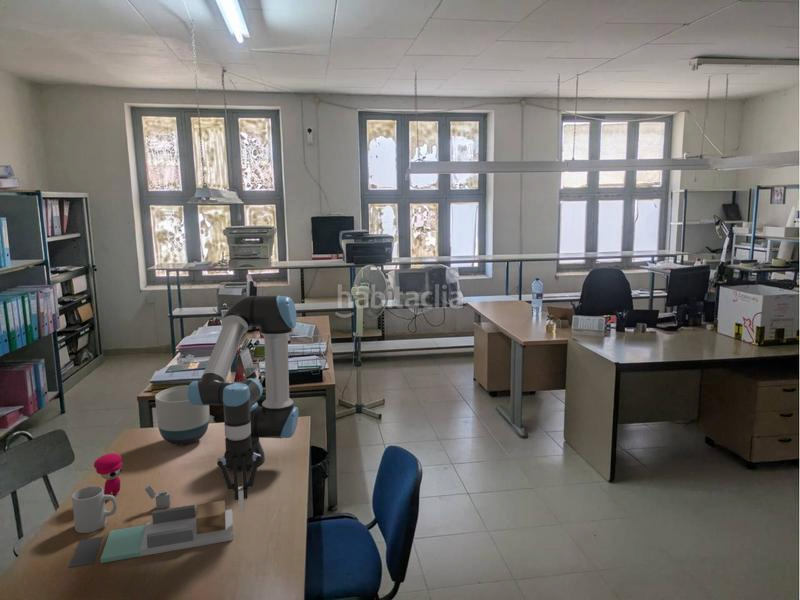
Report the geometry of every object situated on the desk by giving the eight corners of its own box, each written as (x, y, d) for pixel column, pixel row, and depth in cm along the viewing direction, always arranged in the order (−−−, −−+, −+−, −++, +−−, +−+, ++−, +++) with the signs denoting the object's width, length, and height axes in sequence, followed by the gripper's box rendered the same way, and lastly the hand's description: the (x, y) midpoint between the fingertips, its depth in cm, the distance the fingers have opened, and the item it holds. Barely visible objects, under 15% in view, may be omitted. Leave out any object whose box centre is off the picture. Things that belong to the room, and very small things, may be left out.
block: (225, 515, 170) (224, 500, 169) (225, 529, 163) (224, 514, 162) (198, 519, 168) (197, 504, 167) (197, 534, 160) (196, 518, 159)
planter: (151, 441, 228) (147, 392, 225) (199, 428, 242) (196, 382, 238) (169, 457, 213) (165, 405, 210) (219, 442, 227) (216, 393, 223)
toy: (113, 504, 180) (109, 462, 177) (91, 501, 181) (87, 459, 179) (130, 491, 188) (127, 450, 185) (109, 489, 190) (105, 448, 187)
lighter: (170, 504, 180) (168, 481, 179) (169, 507, 178) (168, 484, 177) (147, 507, 178) (145, 484, 177) (146, 510, 176) (144, 487, 175)
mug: (71, 535, 163) (67, 501, 161) (80, 519, 171) (76, 487, 169) (114, 529, 166) (111, 496, 164) (121, 514, 174) (118, 482, 172)
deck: (232, 514, 174) (231, 499, 173) (233, 540, 161) (232, 523, 160) (147, 528, 166) (145, 512, 165) (140, 556, 153) (138, 538, 152)
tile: (147, 528, 166) (146, 524, 166) (140, 556, 153) (140, 552, 153) (110, 534, 163) (110, 530, 163) (100, 563, 150) (100, 558, 150)
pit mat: (103, 539, 162) (102, 536, 162) (93, 566, 150) (93, 563, 150) (80, 543, 161) (80, 540, 160) (68, 570, 148) (68, 567, 148)
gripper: (259, 428, 169) (262, 499, 172) (215, 433, 165) (219, 505, 168) (261, 437, 162) (264, 511, 165) (215, 443, 158) (219, 518, 161)
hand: (241, 508), depth 167 cm, fingers closed
